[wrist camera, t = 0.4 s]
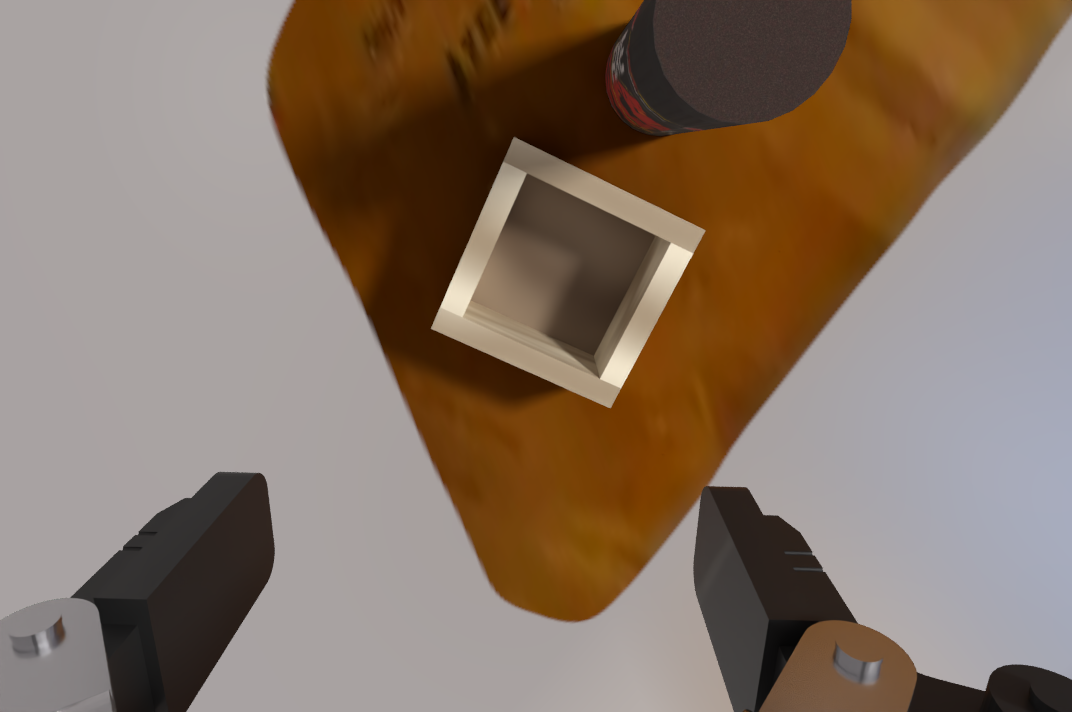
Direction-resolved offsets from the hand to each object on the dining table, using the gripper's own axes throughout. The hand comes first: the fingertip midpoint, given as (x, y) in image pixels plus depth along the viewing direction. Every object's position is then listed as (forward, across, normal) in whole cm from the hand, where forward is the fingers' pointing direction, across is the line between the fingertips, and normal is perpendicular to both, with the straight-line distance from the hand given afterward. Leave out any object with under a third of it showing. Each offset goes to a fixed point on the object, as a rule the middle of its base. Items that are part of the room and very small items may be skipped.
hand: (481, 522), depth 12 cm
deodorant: (+27, -7, -10) cm, 29 cm away
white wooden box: (+26, -2, 0) cm, 26 cm away
